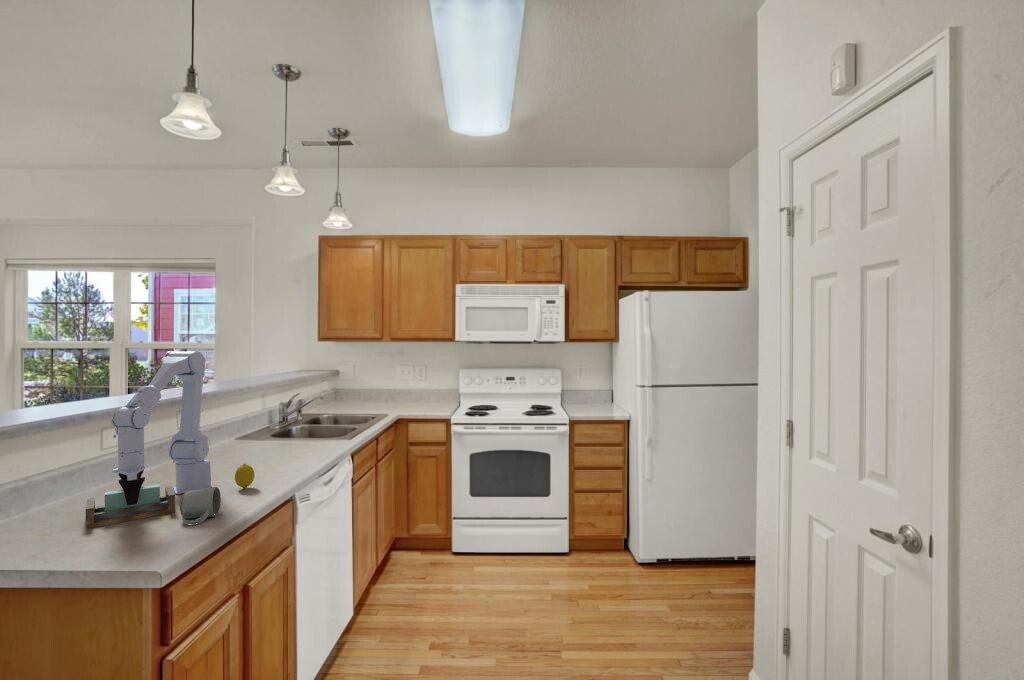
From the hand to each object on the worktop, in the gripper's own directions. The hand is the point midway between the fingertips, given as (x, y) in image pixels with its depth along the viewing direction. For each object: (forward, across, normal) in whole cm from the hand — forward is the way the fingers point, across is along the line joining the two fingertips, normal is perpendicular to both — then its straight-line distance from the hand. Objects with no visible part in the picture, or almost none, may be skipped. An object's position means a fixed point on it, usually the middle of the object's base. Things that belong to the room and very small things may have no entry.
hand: (131, 500), depth 138 cm
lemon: (+4, -7, +29) cm, 30 cm away
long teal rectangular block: (+3, 0, 0) cm, 3 cm away
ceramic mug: (+4, +14, +14) cm, 21 cm away
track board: (+4, 0, 0) cm, 4 cm away
